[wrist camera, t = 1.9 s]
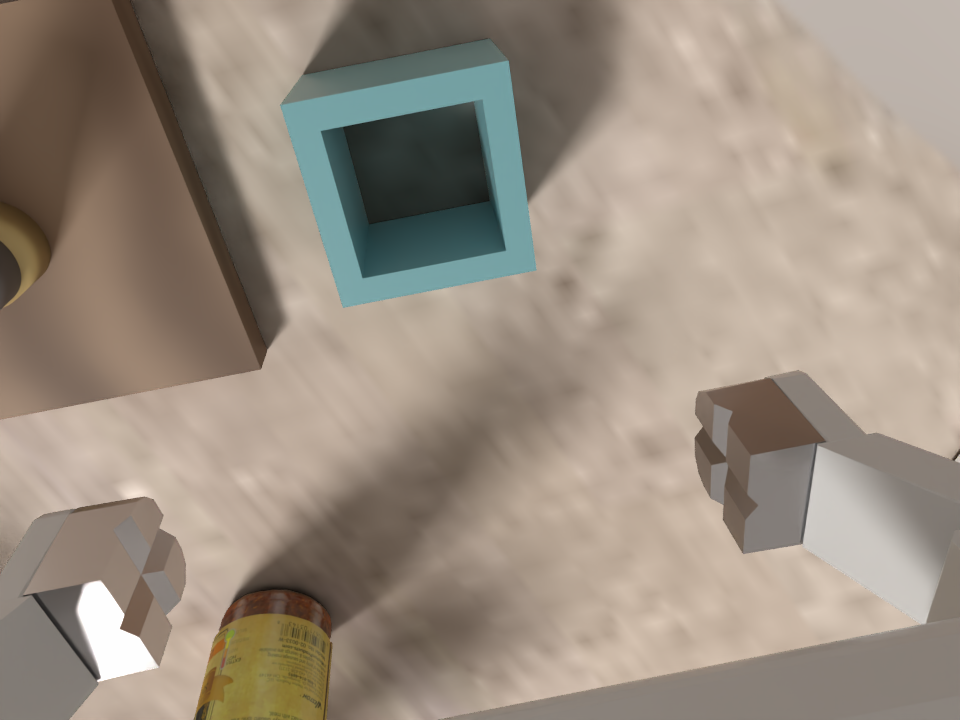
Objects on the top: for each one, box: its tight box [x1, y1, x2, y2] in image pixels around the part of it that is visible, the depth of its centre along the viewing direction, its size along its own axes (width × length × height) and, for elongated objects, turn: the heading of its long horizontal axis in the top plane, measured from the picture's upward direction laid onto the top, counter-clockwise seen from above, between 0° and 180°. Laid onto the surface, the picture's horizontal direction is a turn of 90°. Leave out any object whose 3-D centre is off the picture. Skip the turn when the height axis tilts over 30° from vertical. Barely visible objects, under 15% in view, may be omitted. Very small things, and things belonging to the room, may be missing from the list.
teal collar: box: [280, 38, 536, 308], centre depth 23 cm, size 7×7×5 cm
